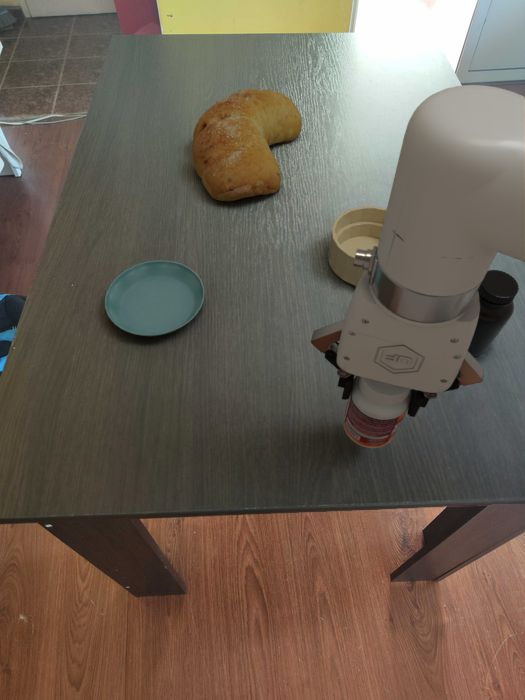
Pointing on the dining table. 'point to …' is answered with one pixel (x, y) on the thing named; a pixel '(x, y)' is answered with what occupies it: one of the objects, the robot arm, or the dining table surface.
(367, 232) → the beige round bowl
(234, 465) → the dining table surface
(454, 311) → the robot arm
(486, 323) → the supplement bottle
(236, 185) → the bread
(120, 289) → the saucer
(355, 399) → the pill bottle
